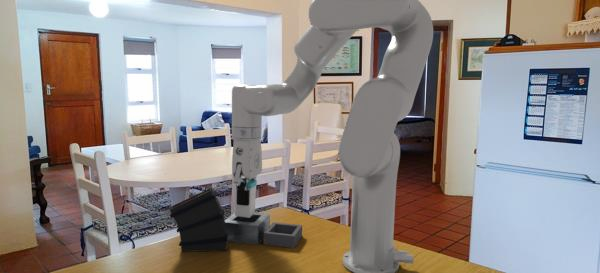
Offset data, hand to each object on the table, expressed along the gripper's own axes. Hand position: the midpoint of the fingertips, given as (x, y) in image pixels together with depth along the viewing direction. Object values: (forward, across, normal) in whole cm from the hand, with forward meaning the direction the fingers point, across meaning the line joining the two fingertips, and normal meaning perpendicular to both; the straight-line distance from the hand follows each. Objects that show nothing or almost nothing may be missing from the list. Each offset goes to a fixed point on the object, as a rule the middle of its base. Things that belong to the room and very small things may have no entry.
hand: (246, 201), depth 108 cm
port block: (+9, 0, 0) cm, 9 cm away
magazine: (+10, -11, +8) cm, 17 cm away
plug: (+3, 0, 0) cm, 4 cm away
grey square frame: (+9, 0, -10) cm, 14 cm away
